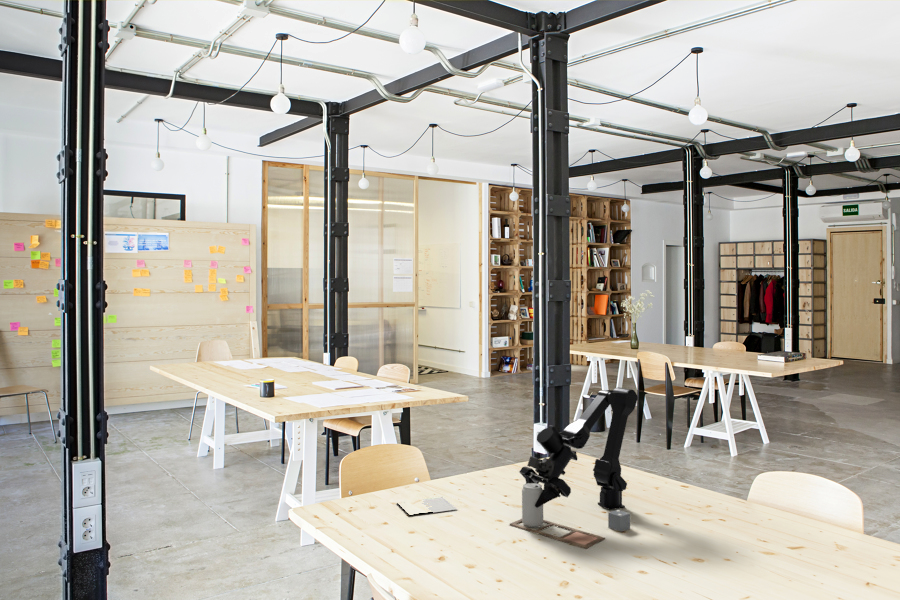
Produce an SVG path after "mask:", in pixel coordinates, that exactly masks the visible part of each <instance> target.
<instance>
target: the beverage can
mask: <svg viewBox="0 0 900 600" xmlns="http://www.w3.org/2000/svg"><path fill="white" fill-rule="evenodd" d="M542 486H543V485H542V484H540V483H538V484H536V483H527V484H526V483H524V484H522V489H521V510H522V511H521V514H522V516H521V519H522V522H521V523H522V524H523V525H524V527H528V528H531V529H534V528H541V527H542V526H543V524H544V523H543V520H544V504H543V505H541V506H540V507H538V508H537V507H535V504H536V502H537V500H538V498H539V497H540V495H541V493H542V492H543V490H544V488H542Z"/></svg>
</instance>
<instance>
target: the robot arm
mask: <svg viewBox="0 0 900 600" xmlns="http://www.w3.org/2000/svg"><path fill="white" fill-rule="evenodd" d="M638 396H639V395H638V394H637V392H636V390H635V389H631V388H624V387H618V386H617V387H615V388H614V389H611V390H610V389H606V390H604V389H603V390H602V389H601V390H599V391H598V392H597V394H596V397H595V398H594V399H593V400H592V401H591V403H590V404H589V405H588V407H587V408H586V409H585V410H584V412H583V413H582V414H581V415H580V417H579V418H578V419H577V420H576V421H574V422H572V423H570V424H568V425H567V426H566V427H565V428H564V429H563V430H562V431H560V432H559V431H558V430H557V428H556V427H555V426H554V425H549V426H547V427H545V428H543V429H542V430H541V431H539V432H538V434H537V435H536V441H537V443H539V445H540V446H541V447H542V448H543V449H544V451H546V452H547V453H548V454H550V456H549V457H548V458H546V457H543V459H540V458H539V457H535V456H532V455H530V457H529V460H528V463H527V466H522V467H521V469H520V470H519V472H518V473H519V474H521V476H522V477H523V478H524V479H525V484H527V483H536V484H540V483H541V484H543V492H542V493H541V495H540V497H539V498H538V500H537V502H536V504H535V507H537V508H538V507H540V506H541V505H543V506H544V505H545V504H547V503H549V502H550V501H552V500H553V501H554V500H555V499H557V498H561V496H562V497H565V498H568V497H570V494H571V493H572V489H571V487H570V486H569V484H568V483H567V482H566V481H565V480H564V479H563V478H560V476H561V475H562V476H565V474H566V473H567V472H566V471H565V469H566V467H567V466H568V464H570V461H571V460H572V461H575V462H576V461H578V456H577V451H575V450H573V449H571V448H574V449H577V450H581V449H583V448H584V447H585V446H586V444H587V442H588V441H589V439H590V436H591V430H592V428H593V427H594V426H595V424H596V423H597V422H598V421H599V419H600V418H601V417H602V416H603V414H604V413H605V412H606V410H607V409H608V408H609V406H610V407H611V411H612V415H611V419H610V425H609V428H608V429H609V430H608V433H607V438H606V442H605V446H604V451H603V455H602V456H601V457H600V459H599V458H596V459H595V461H594V467H593V469H592V471H593V477H594V479H595V481H596V485H597V486H598V487H600V492H599V502H597V505H599V506H601V507H603V508H604V509H606V510H609V511H613V510H619V509H625V508H626V505H624V504H623V491H625V490H626V489H627V486H628V483H627V481H626V480H625V479H624V478H623V476H622V466H621V463H620V453H621V450H622V445H623V442H624V441H623V440H624V436H625V432H626V426H627V422H628V418H629V416H630V415H631V414H632V413H633V411H635V408H636V405H637V403H638Z"/></svg>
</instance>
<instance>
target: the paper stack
mask: <svg viewBox="0 0 900 600" xmlns="http://www.w3.org/2000/svg"><path fill="white" fill-rule="evenodd" d="M423 500H424V501H423V502H424V503H422V504H424V505H428V506H426V507H429V506H432V507H429V508H428V509H429V510H431V511H432V512H433V513H441V512H448V511H456V510H458V508H457V507H456V506H454V505H453V504H452V503H450V502H449V501H448V500H447V499H446V498H444V497H443V496H438V497H432V498H423ZM427 503H429V504H427Z"/></svg>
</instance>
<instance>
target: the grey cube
mask: <svg viewBox="0 0 900 600" xmlns="http://www.w3.org/2000/svg"><path fill="white" fill-rule="evenodd" d="M607 516H608V517H607V518H608V519H607V521H608V523H607V525H608V527H607V528H609V529H612V530H615V531H617V532H620V533H621V532H623V531H624V532H625V531H627V530H630V529H631V512H627V511H624V510H620V509H614V510H611V511H610V512H608V513H607Z"/></svg>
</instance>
